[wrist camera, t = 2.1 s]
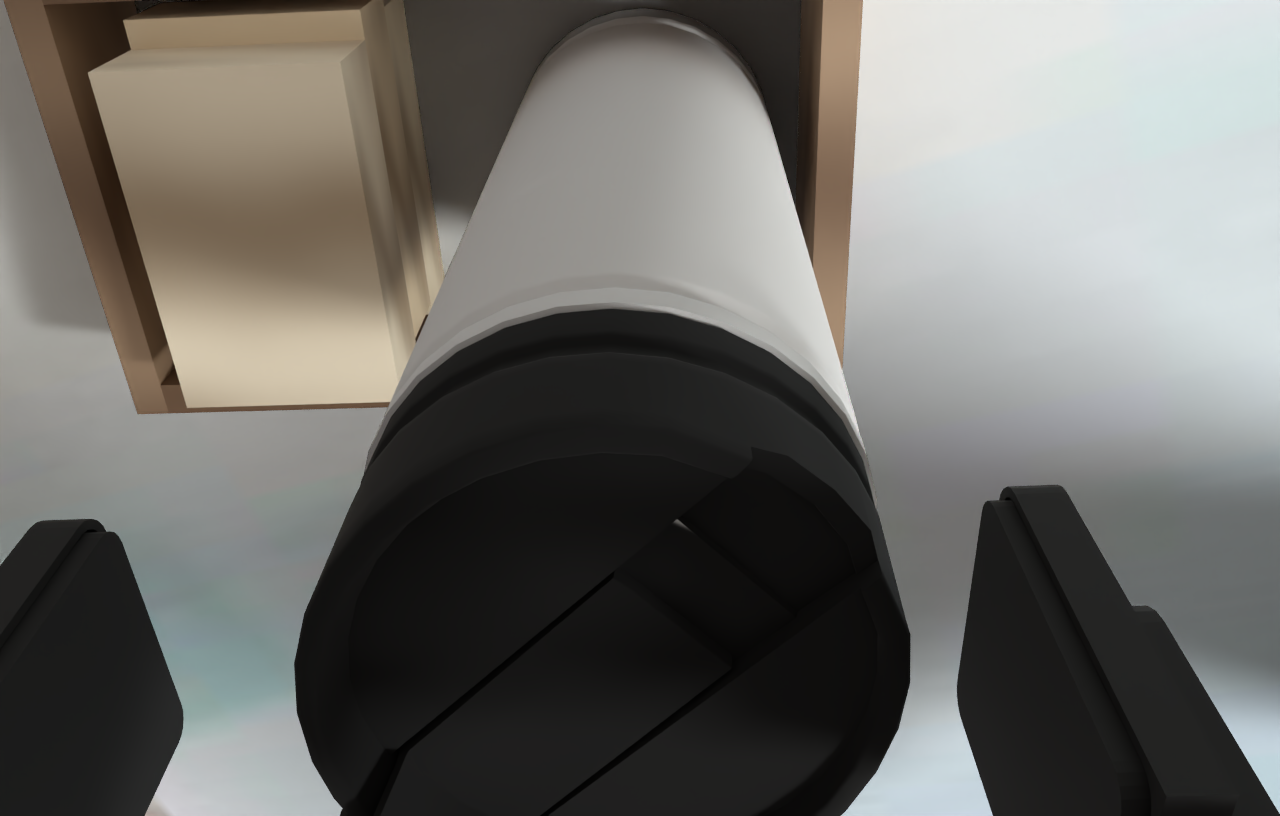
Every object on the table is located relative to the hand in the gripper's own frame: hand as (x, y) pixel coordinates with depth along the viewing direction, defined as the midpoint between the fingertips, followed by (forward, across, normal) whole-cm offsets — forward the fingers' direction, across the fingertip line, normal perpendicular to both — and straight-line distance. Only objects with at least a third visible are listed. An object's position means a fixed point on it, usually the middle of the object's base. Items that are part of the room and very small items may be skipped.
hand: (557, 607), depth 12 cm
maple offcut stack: (+18, +7, 0) cm, 20 cm away
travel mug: (+18, -1, 0) cm, 18 cm away
